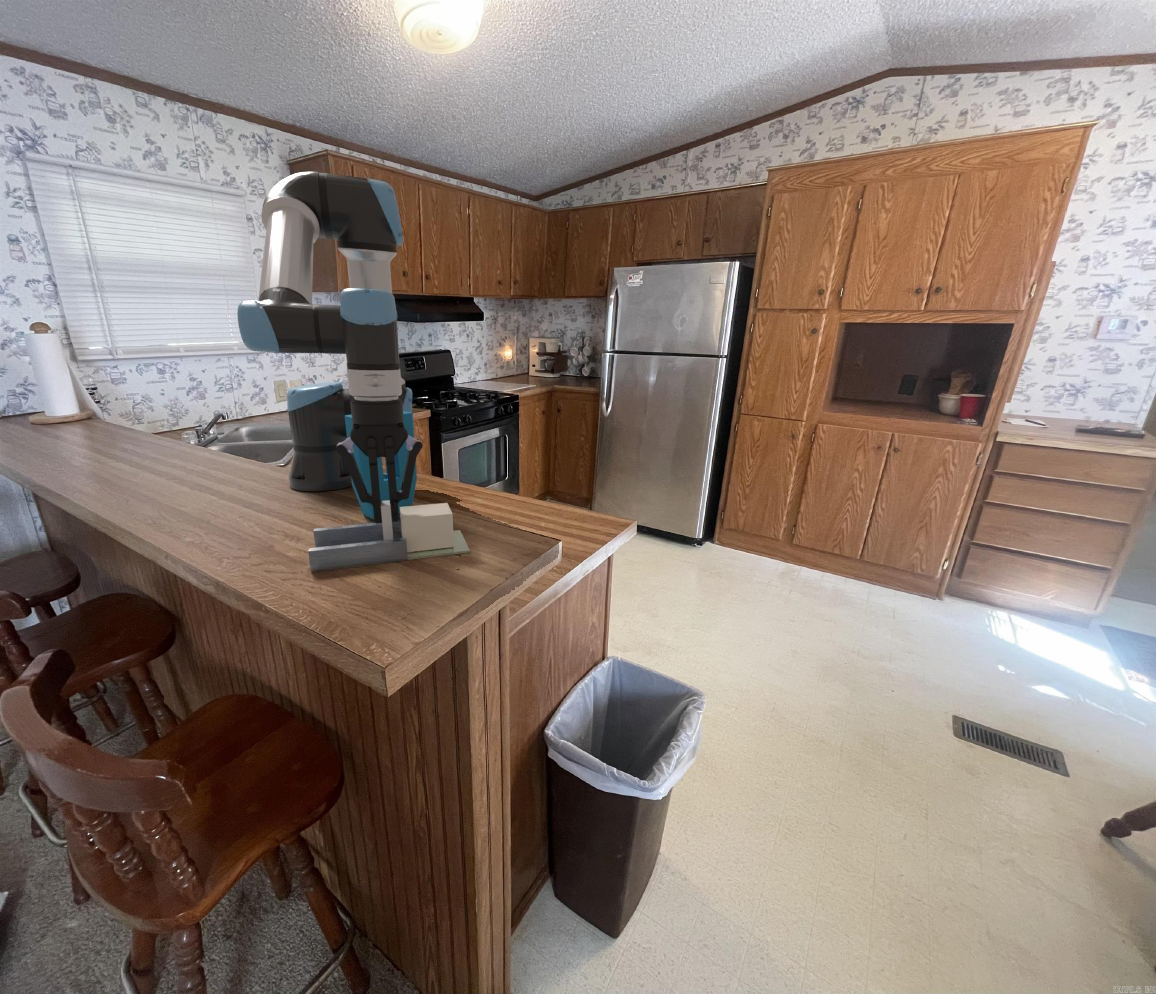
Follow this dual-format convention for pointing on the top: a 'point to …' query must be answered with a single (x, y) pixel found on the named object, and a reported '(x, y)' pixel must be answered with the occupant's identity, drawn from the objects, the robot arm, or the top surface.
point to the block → (383, 478)
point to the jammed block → (427, 526)
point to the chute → (368, 547)
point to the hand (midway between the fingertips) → (388, 539)
